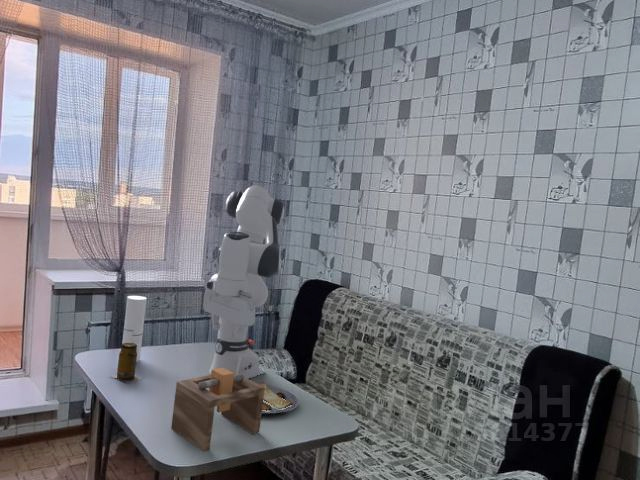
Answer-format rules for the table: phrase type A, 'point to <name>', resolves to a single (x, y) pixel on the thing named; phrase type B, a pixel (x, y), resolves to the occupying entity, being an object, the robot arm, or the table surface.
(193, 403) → the wooden slider frame
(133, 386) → the table surface
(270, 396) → the food plate
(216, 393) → the orange forked block
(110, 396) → the table surface
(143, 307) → the cylindrical container
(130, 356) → the condiment
